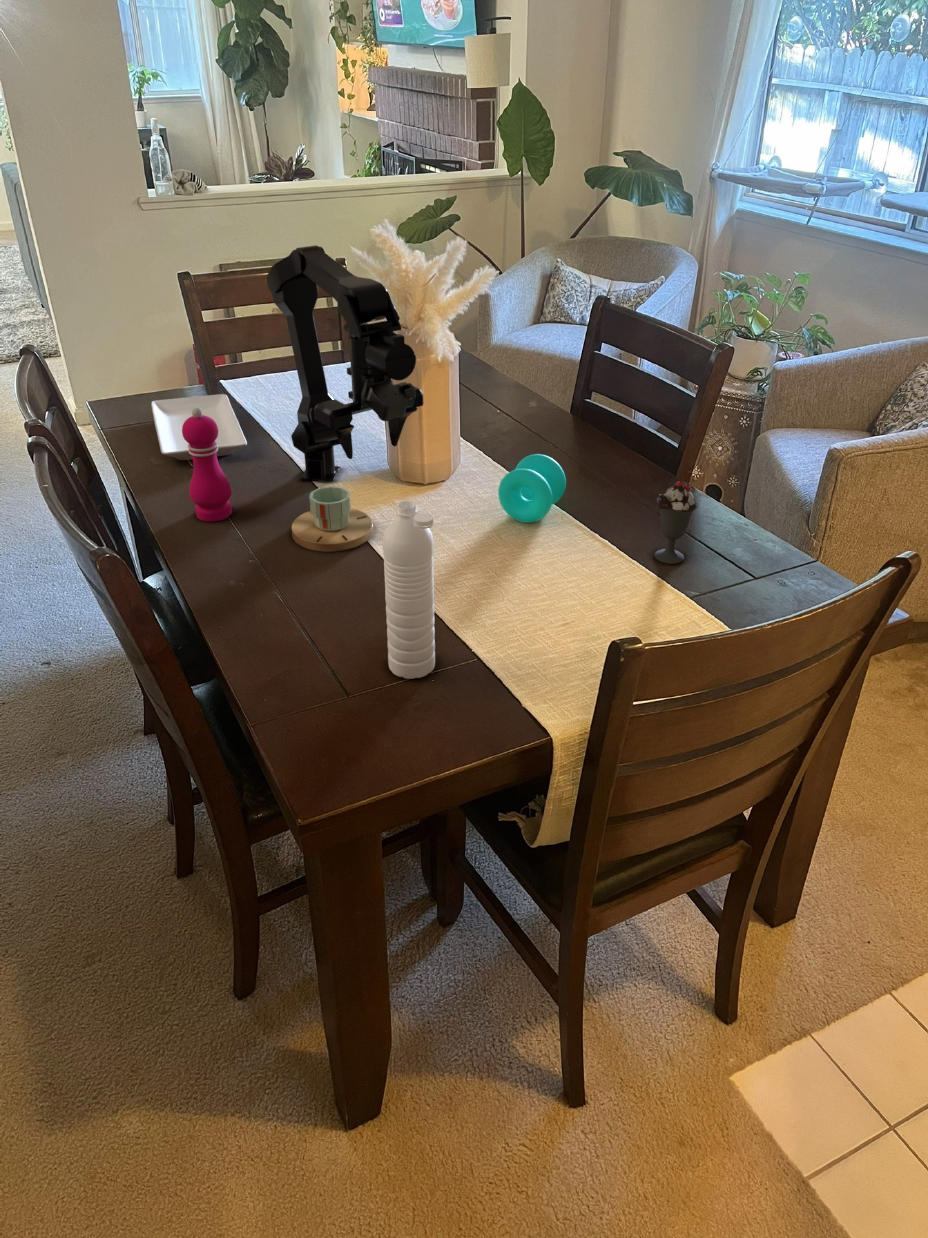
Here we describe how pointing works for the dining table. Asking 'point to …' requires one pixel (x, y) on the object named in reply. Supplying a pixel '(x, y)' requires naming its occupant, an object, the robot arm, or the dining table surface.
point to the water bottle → (410, 592)
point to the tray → (178, 410)
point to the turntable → (332, 533)
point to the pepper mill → (206, 469)
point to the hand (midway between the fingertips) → (372, 451)
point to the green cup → (330, 507)
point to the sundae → (674, 519)
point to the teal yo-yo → (532, 488)
